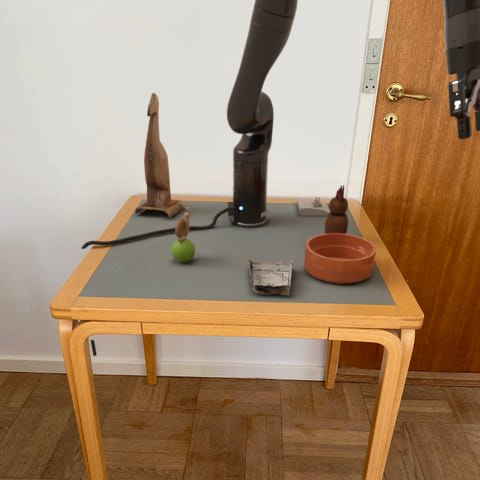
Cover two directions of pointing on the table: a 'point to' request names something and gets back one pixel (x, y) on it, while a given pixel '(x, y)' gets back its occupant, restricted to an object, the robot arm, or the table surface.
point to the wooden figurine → (337, 214)
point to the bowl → (339, 258)
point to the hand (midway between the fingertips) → (474, 134)
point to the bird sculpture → (157, 167)
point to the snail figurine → (183, 240)
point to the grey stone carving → (313, 207)
